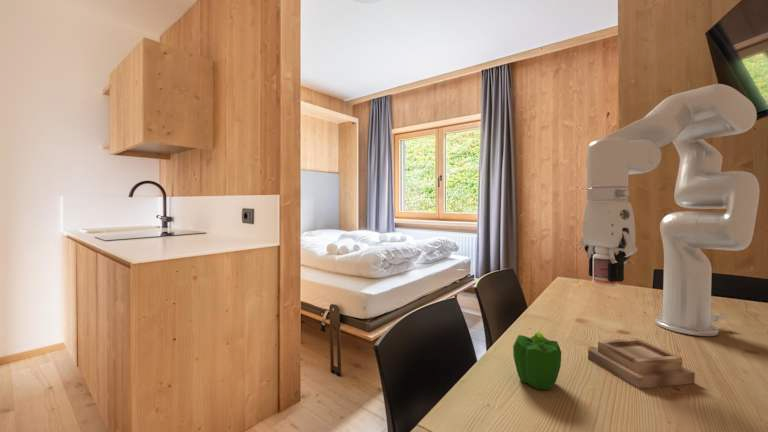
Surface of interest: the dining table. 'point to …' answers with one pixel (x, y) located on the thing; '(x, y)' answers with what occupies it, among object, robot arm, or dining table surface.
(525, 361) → the bell pepper
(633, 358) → the plinth
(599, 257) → the pill bottle
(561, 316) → the dining table surface
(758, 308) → the dining table surface
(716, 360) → the dining table surface
